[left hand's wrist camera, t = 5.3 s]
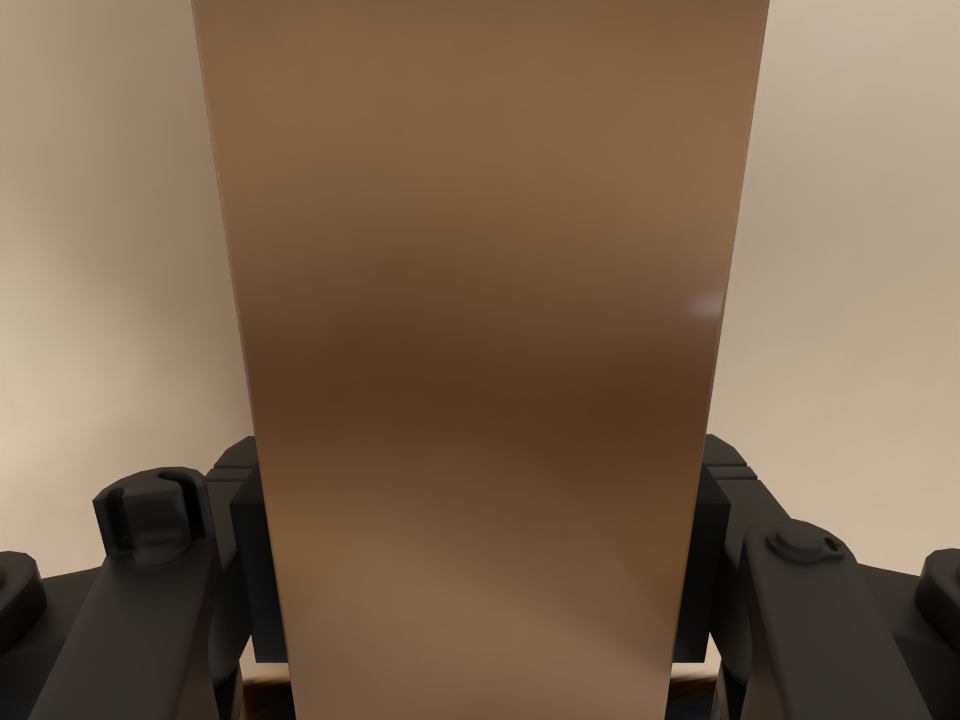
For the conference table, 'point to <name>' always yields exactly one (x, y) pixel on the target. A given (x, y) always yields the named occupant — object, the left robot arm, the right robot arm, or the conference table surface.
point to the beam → (480, 333)
